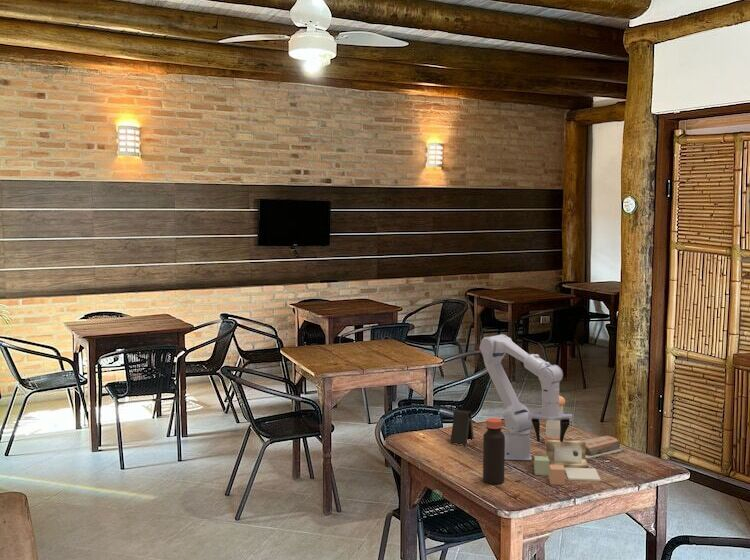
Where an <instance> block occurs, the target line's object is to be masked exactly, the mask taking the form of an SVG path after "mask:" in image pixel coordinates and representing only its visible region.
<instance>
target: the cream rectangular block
mask: <svg viewBox="0 0 750 560" xmlns="http://www.w3.org/2000/svg"><path fill="white" fill-rule="evenodd" d="M553 460H554V462H558V463H581V461H582V448H581V446H580V445H571V444H553Z"/></svg>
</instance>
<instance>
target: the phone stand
mask: <svg viewBox="0 0 750 560" xmlns="http://www.w3.org/2000/svg"><path fill="white" fill-rule="evenodd" d="M452 416H453V419H452V428H451V435H450V442H451V443H457V444H463V445H466V444H467V439H471V440H472V439H474V440H475V436H474V429H473V428H474V427H473V422H472V410H464V409H457V408H456V409H454V410H453V415H452ZM450 442H449V443H450ZM466 446H467V445H466Z"/></svg>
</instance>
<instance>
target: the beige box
mask: <svg viewBox="0 0 750 560" xmlns="http://www.w3.org/2000/svg"><path fill="white" fill-rule="evenodd" d="M553 444H571V445H580V446H581V448H582V461H581V463H558V462H554V460H553ZM545 447H546V450H545V456H548V459H549V465H563V466H564V467H565V468H589V463H588V462H587V461H588V460H586V459H585V454H586V442H585V441H582V440H565V441H563V442H560V440H547V442H546V445H545Z"/></svg>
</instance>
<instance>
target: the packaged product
mask: <svg viewBox="0 0 750 560" xmlns="http://www.w3.org/2000/svg"><path fill="white" fill-rule="evenodd" d="M581 441H585V442H586V454H585V459H586V461H588V459H590V460H593V459H597V458H596V457H598V458H600V457H599V456H603V455H608V456H610V455H609V454H612V453H616V454H618V453H617V452H620V453H623V451H624V452H625V449H624V448H621V447H620V445H621V444H620V441H619V439H618V438H617V437H614V436H610V435H603V436H602V435H601V436H597V437H593V438H588V439H583V440H581ZM612 455H613V454H612ZM603 457H604V456H603Z"/></svg>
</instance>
